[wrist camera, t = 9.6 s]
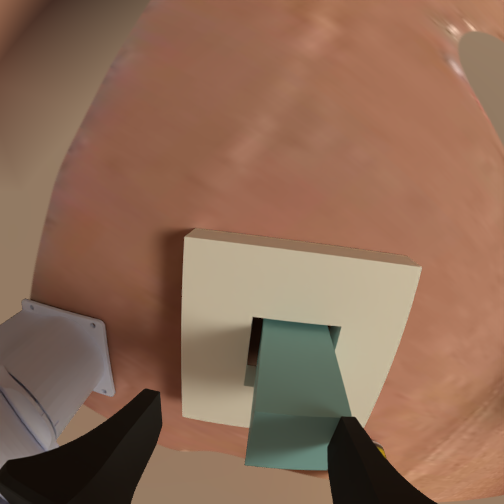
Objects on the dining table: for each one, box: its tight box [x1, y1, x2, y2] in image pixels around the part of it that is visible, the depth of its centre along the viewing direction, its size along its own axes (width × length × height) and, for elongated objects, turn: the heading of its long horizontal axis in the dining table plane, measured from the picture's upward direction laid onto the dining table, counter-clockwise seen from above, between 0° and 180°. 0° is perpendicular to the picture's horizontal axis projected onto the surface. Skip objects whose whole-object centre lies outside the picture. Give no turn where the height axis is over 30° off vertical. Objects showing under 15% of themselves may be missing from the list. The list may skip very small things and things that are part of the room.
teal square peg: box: [245, 318, 352, 470], centre depth 16 cm, size 4×4×10 cm
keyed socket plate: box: [181, 228, 422, 428], centre depth 20 cm, size 14×14×2 cm
